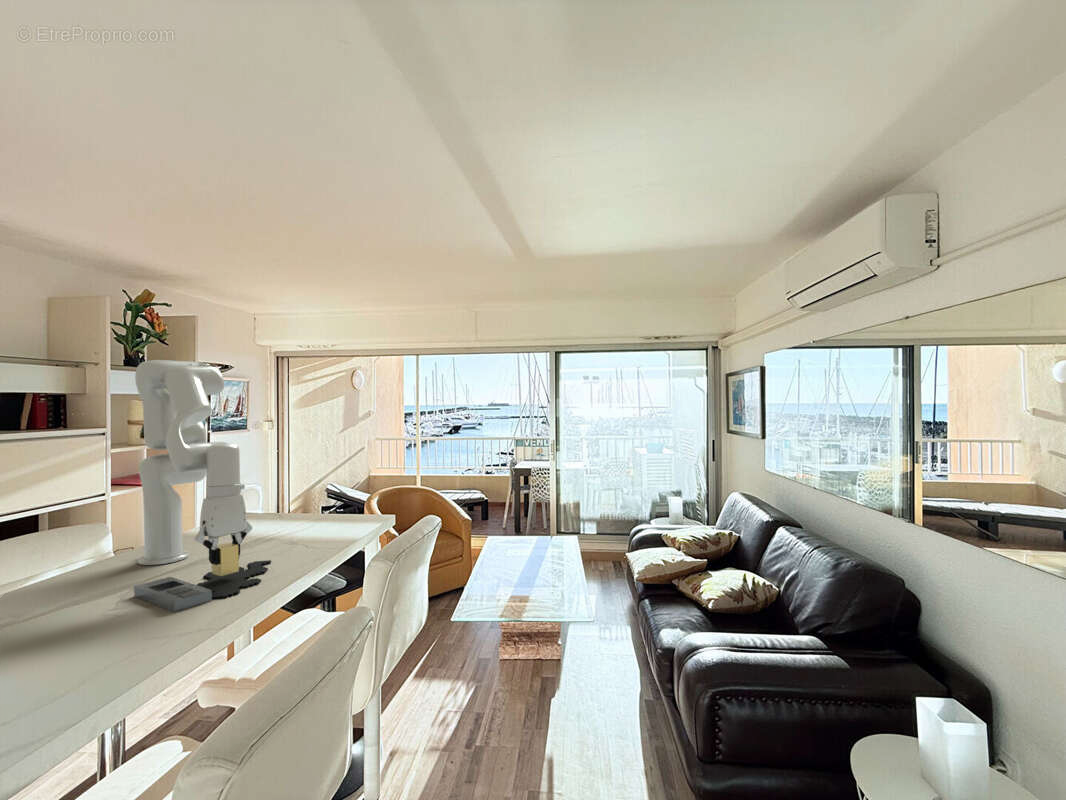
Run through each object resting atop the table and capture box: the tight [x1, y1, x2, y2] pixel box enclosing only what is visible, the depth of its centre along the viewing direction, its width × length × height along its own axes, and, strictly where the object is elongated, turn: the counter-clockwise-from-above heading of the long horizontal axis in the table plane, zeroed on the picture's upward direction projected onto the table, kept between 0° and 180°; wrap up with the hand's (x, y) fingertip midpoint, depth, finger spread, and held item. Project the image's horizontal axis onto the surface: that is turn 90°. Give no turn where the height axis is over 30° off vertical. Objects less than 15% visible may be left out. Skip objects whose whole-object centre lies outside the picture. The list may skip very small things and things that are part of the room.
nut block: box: [211, 542, 240, 576], centre depth 141 cm, size 4×4×7 cm
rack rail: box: [133, 576, 213, 613], centre depth 129 cm, size 20×8×3 cm, turn 58°
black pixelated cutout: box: [196, 559, 272, 601], centre depth 143 cm, size 16×1×30 cm
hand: (224, 560), depth 141 cm, fingers closed on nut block, 4 cm apart
